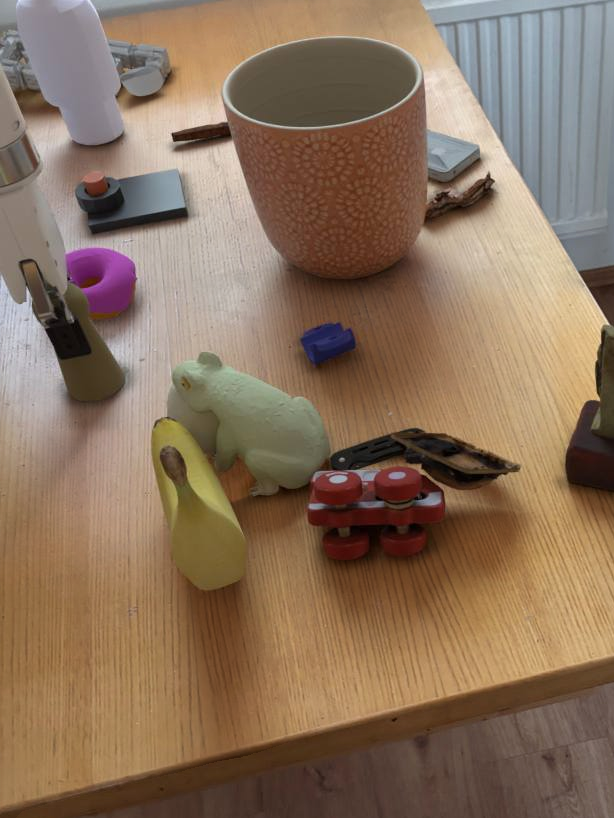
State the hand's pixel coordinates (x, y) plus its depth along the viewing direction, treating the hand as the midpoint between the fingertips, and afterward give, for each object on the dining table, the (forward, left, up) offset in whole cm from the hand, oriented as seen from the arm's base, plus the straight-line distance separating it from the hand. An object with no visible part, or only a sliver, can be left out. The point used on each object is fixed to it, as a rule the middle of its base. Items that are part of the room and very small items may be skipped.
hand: (74, 336), depth 93 cm
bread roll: (+45, +8, -5) cm, 46 cm away
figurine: (+22, -1, -6) cm, 22 cm away
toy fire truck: (+40, -7, -1) cm, 41 cm away
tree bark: (+15, +47, -7) cm, 50 cm away
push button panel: (-20, +29, -6) cm, 36 cm away
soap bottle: (-38, +41, -6) cm, 56 cm away
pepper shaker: (0, 0, -6) cm, 6 cm away
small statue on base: (+54, +14, -6) cm, 56 cm away
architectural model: (-49, +51, -1) cm, 71 cm away
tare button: (-23, +26, -3) cm, 35 cm away
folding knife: (+32, +5, -5) cm, 33 cm away
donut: (-10, +11, -6) cm, 16 cm away
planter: (+11, +32, -6) cm, 34 cm away
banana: (+26, -13, -6) cm, 30 cm away
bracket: (+20, +15, -3) cm, 25 cm away
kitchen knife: (-20, +52, -6) cm, 56 cm away
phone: (+6, +55, -4) cm, 56 cm away
